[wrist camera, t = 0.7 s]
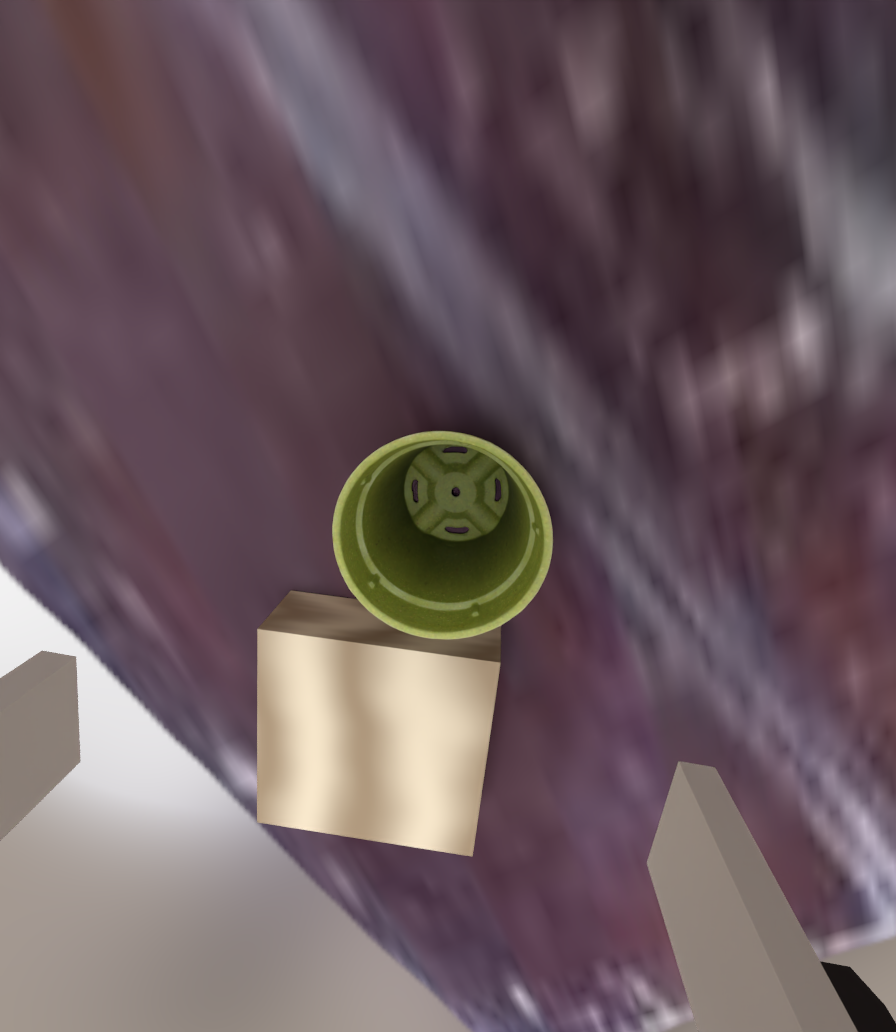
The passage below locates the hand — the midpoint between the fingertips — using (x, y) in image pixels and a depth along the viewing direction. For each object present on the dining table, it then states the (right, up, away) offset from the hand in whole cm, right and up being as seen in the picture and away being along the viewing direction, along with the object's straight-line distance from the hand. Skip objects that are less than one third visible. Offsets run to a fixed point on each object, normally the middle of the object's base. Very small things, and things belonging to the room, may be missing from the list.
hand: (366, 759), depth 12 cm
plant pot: (+2, +7, +20) cm, 21 cm away
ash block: (-2, -6, +24) cm, 25 cm away
